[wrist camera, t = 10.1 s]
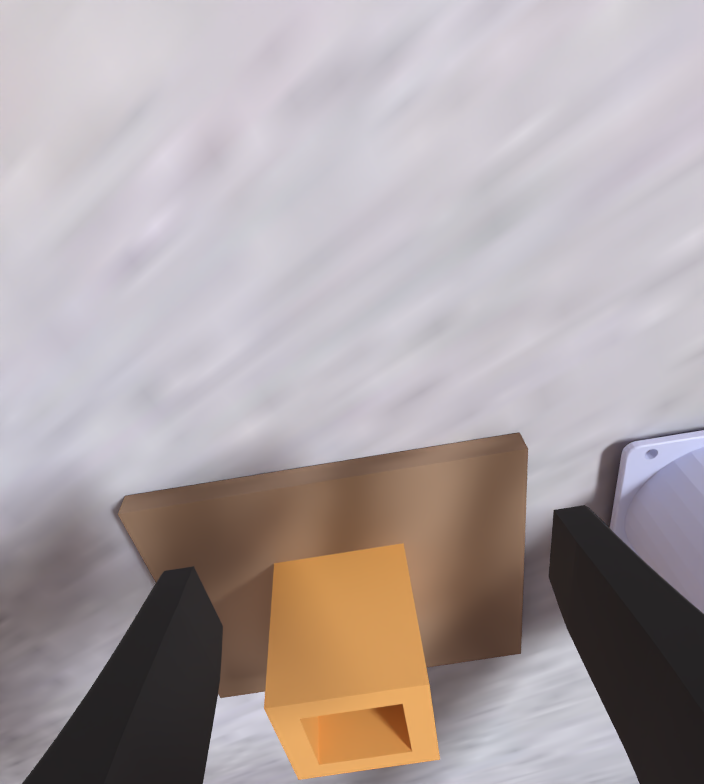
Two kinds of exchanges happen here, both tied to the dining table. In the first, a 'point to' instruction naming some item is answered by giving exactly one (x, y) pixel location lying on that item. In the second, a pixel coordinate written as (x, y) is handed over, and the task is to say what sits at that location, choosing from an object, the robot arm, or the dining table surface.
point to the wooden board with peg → (355, 543)
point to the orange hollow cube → (348, 664)
